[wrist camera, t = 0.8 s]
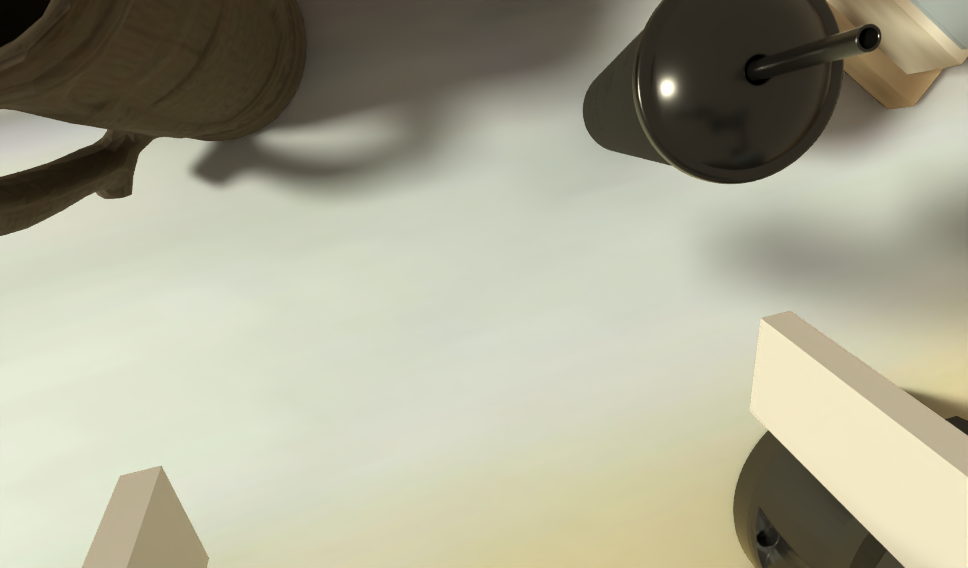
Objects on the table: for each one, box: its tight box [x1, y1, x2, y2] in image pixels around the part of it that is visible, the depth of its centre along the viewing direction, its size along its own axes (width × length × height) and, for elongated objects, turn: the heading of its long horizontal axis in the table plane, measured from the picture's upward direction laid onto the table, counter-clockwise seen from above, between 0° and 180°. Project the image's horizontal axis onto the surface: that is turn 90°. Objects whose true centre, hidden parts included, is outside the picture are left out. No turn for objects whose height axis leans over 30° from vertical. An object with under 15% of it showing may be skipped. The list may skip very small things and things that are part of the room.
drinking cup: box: [583, 0, 882, 184], centre depth 25 cm, size 8×8×20 cm
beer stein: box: [0, 0, 306, 236], centre depth 23 cm, size 15×11×20 cm
